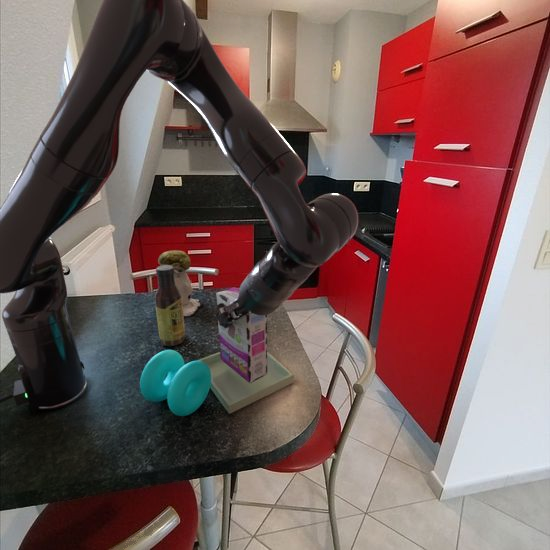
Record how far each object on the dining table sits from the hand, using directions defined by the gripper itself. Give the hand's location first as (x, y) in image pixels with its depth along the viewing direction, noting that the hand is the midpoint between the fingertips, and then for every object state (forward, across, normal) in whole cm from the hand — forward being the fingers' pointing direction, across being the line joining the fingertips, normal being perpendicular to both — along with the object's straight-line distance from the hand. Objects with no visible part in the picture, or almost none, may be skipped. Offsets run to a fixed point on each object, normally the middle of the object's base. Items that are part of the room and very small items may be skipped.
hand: (237, 319), depth 66 cm
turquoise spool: (+8, +14, +10) cm, 19 cm away
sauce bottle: (+24, +8, -5) cm, 26 cm away
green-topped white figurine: (+35, +1, -16) cm, 39 cm away
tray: (+8, 0, +10) cm, 13 cm away
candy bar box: (+6, 0, +9) cm, 11 cm away
